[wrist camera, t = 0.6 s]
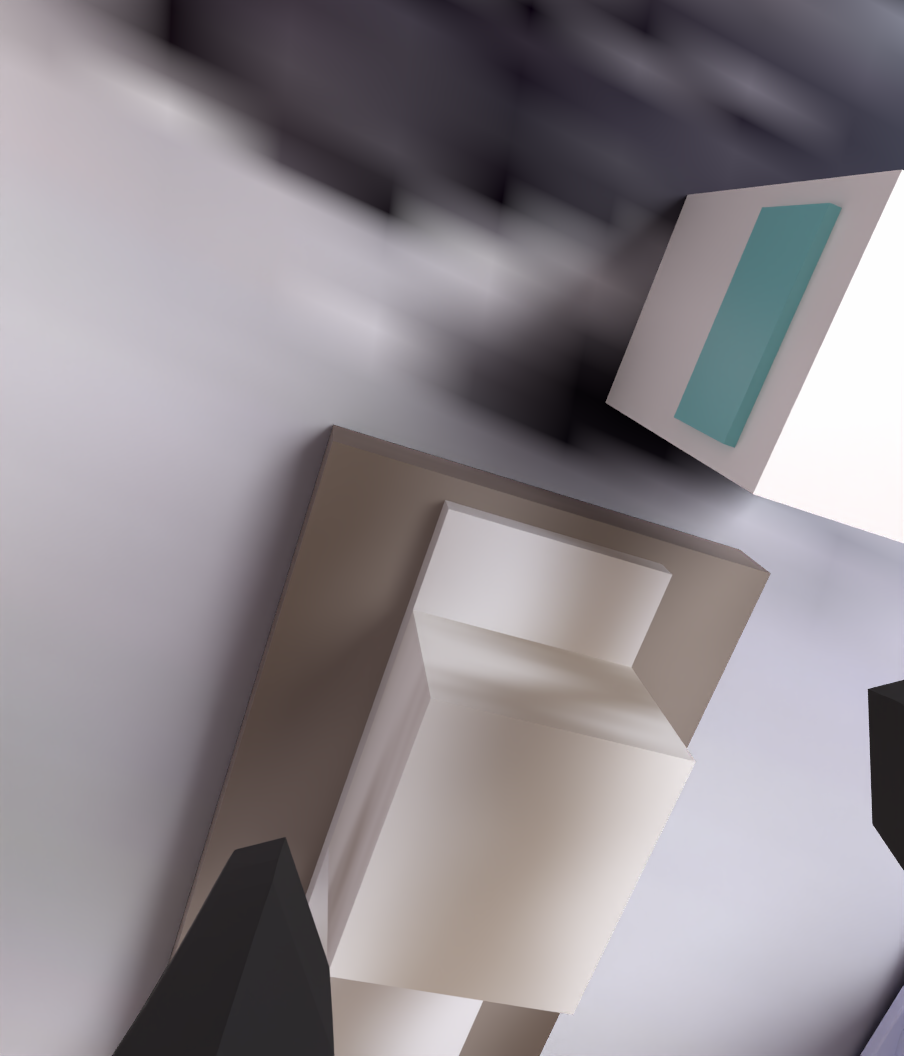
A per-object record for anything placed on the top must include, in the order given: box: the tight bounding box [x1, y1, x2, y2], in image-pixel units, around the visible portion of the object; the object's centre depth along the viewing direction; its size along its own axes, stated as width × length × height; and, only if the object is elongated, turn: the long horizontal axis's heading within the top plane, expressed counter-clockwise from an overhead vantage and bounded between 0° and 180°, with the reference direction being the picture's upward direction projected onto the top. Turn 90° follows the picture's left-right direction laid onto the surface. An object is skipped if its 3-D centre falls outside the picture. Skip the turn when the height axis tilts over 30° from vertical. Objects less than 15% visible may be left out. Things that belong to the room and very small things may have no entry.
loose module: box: [605, 170, 904, 543], centre depth 15 cm, size 5×4×7 cm
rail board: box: [168, 425, 770, 1056], centre depth 20 cm, size 10×24×6 cm, turn 161°
